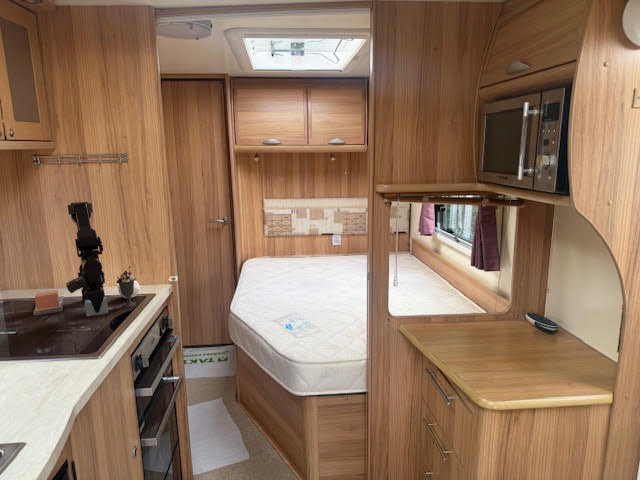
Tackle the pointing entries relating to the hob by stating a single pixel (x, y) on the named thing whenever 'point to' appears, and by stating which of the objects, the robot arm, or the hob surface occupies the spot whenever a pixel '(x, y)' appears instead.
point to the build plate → (50, 310)
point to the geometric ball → (136, 290)
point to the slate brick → (90, 309)
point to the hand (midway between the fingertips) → (97, 309)
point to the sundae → (127, 287)
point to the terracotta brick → (47, 299)
